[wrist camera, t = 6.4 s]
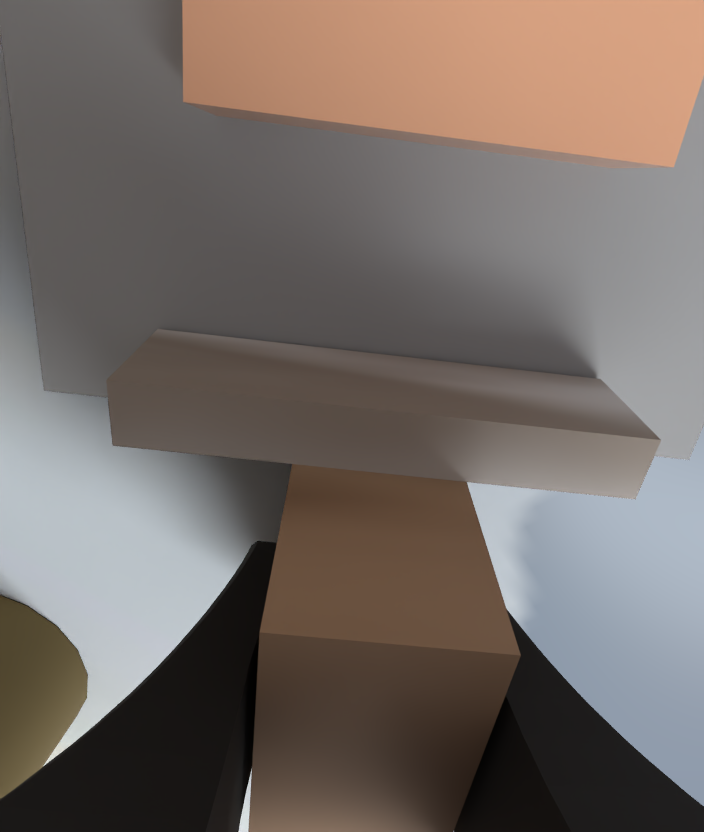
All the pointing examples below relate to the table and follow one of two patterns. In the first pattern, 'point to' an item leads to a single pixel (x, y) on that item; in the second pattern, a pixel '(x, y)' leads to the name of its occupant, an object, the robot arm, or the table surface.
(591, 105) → the terracotta tile
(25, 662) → the cork
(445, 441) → the pusher
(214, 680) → the robot arm
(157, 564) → the table surface
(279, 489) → the table surface
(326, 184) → the board
